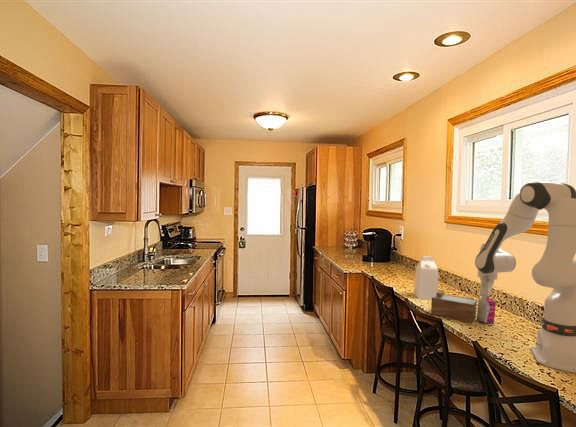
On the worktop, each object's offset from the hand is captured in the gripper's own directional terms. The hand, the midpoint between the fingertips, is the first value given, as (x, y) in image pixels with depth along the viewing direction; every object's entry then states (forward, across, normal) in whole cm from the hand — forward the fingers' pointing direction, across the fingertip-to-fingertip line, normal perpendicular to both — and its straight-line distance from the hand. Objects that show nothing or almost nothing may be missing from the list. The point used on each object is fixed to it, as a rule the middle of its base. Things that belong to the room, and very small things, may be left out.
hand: (485, 301), depth 181 cm
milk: (+12, +28, +36) cm, 48 cm away
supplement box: (+11, 0, -1) cm, 11 cm away
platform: (+12, +19, +11) cm, 25 cm away
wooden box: (+11, -2, +14) cm, 18 cm away
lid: (+3, -1, +15) cm, 15 cm away
